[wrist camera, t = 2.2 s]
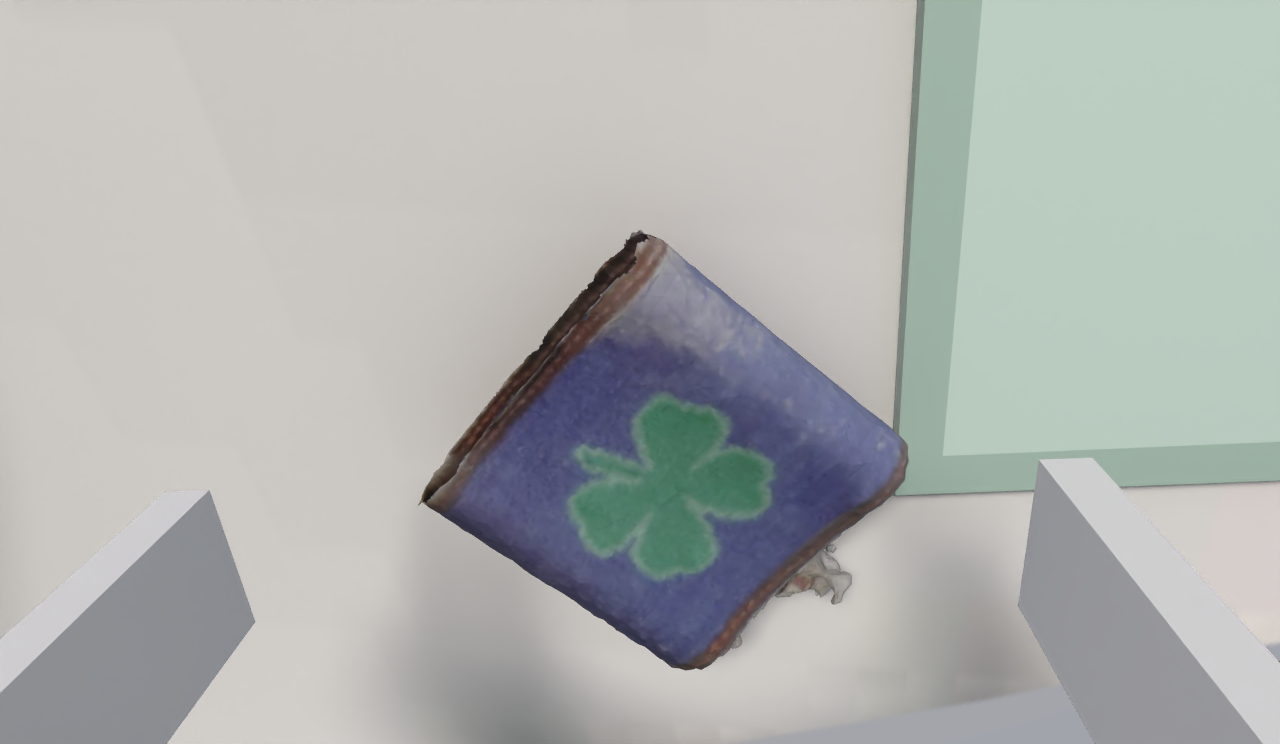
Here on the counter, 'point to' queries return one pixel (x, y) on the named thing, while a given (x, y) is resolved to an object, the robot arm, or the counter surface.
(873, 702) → the counter surface
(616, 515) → the blue clover box
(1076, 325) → the mat
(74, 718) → the robot arm
